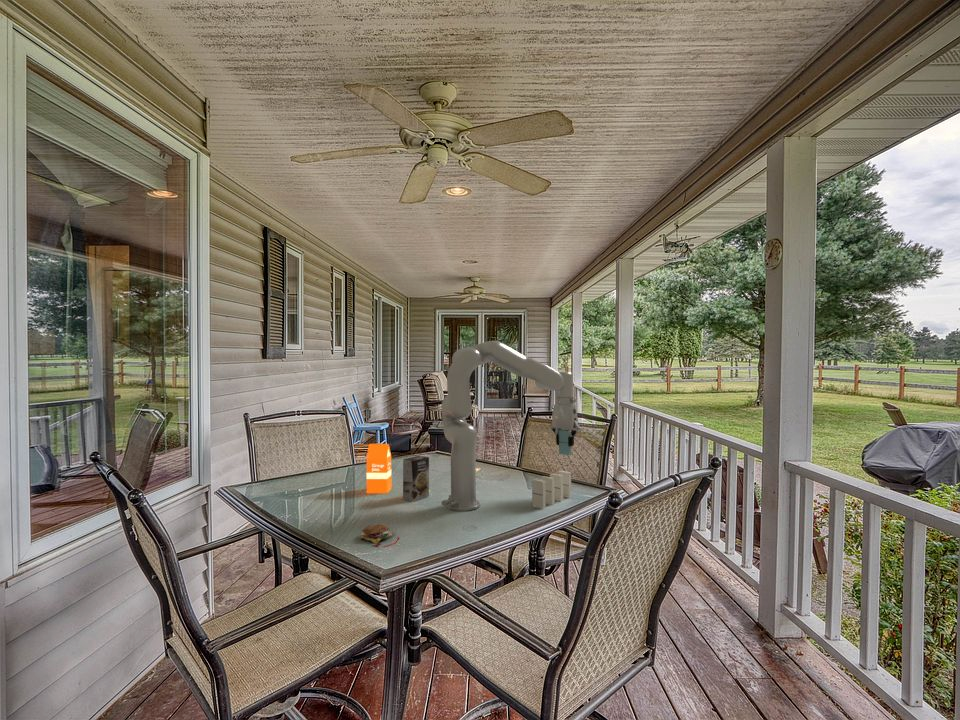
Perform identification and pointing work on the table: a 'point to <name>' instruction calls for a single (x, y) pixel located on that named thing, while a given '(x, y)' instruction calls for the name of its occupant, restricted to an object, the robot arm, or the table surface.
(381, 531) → the hamburger
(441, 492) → the table surface
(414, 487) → the coffee box
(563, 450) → the domino
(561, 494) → the domino
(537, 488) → the domino
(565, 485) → the domino
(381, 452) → the orange juice
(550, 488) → the domino
